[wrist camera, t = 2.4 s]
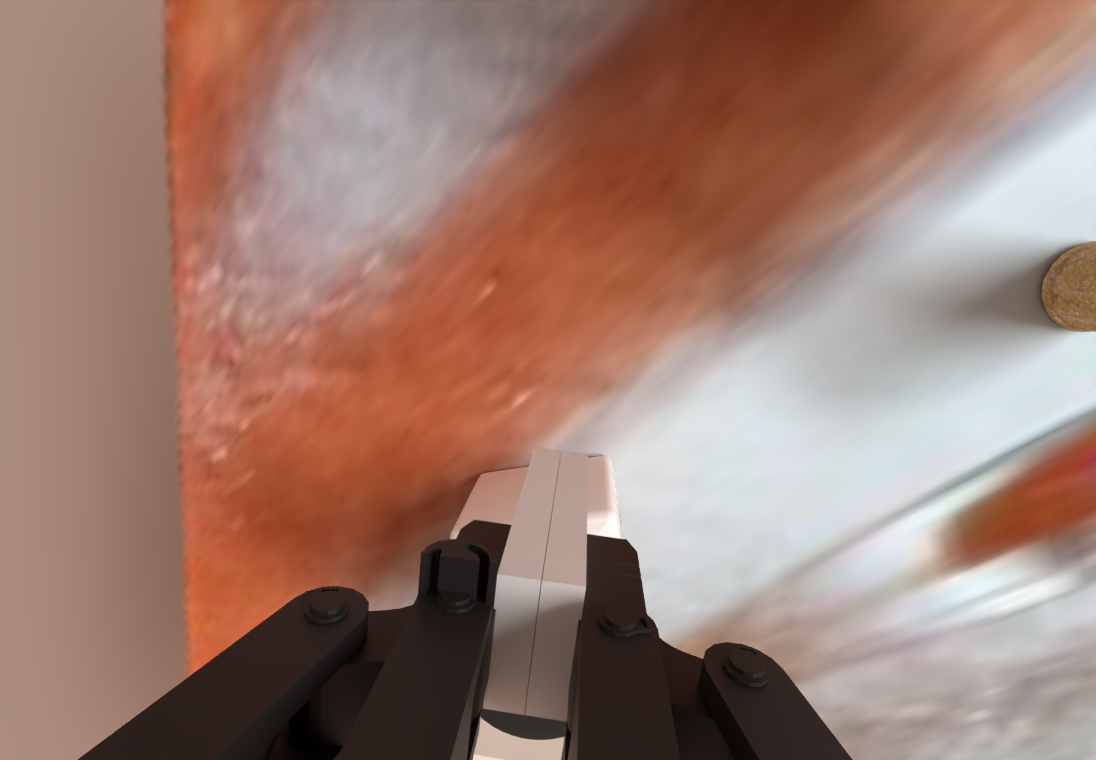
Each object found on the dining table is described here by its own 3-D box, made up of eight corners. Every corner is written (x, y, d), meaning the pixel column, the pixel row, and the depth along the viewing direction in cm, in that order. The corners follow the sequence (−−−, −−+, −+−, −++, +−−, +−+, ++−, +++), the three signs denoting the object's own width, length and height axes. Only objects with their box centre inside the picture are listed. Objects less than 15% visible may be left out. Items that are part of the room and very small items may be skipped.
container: (504, 589, 35) (455, 776, 23) (478, 471, 34) (410, 602, 21) (630, 574, 35) (651, 759, 22) (609, 452, 33) (620, 576, 20)
